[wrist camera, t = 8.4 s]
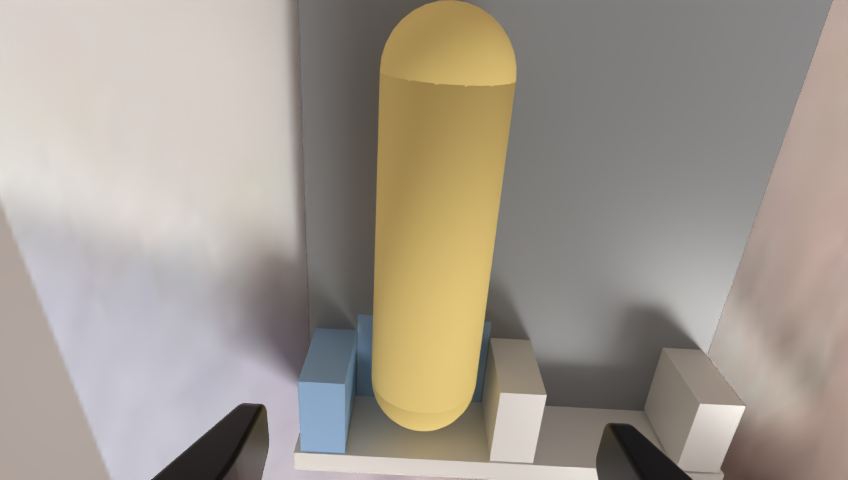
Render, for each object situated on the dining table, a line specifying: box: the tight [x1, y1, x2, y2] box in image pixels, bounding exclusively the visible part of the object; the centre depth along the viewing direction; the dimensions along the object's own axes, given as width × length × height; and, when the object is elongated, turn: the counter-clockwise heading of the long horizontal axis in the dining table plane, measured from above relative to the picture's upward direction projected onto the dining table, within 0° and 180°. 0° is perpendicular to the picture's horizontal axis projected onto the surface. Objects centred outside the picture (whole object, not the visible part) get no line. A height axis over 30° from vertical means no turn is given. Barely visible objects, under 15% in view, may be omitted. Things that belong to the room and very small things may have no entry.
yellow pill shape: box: [371, 0, 517, 431], centre depth 16 cm, size 14×4×4 cm, turn 176°
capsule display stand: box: [294, 0, 833, 480], centre depth 17 cm, size 15×17×4 cm
